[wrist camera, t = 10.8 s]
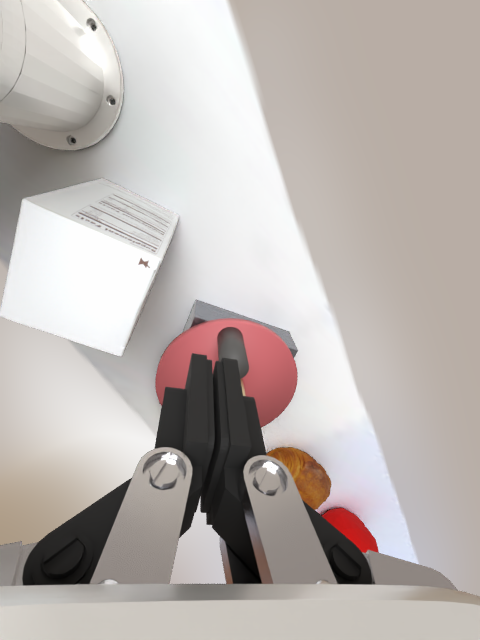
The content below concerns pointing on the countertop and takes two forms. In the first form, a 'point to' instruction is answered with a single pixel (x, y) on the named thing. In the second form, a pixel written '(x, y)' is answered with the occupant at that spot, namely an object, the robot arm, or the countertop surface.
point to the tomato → (351, 528)
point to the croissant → (305, 475)
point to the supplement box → (86, 262)
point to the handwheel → (251, 353)
